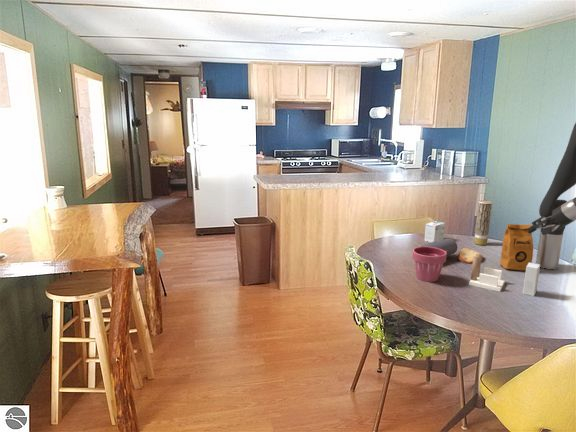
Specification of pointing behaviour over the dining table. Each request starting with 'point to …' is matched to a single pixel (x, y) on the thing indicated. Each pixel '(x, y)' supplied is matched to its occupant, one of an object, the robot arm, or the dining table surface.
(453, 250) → the bluetooth speaker
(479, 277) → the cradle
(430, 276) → the plant pot
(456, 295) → the dining table surface
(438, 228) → the light bulb box
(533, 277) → the skincare box
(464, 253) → the bread slice
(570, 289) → the dining table surface
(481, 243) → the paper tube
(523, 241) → the coffee package
